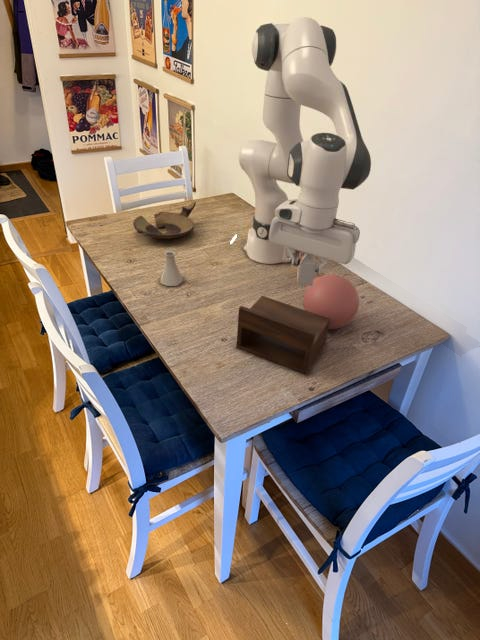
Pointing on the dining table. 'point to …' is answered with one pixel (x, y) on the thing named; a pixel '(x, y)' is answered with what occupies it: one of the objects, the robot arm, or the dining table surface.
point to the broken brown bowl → (167, 223)
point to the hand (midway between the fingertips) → (306, 268)
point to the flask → (171, 271)
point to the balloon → (332, 299)
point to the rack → (282, 333)
